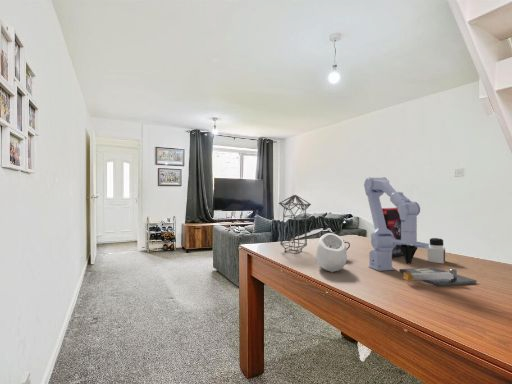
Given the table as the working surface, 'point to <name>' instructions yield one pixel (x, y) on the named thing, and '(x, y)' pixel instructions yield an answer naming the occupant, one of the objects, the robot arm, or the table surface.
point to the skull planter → (331, 252)
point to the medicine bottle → (436, 251)
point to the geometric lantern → (293, 222)
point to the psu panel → (440, 282)
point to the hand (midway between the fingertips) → (408, 263)
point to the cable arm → (431, 275)
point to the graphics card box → (393, 227)
